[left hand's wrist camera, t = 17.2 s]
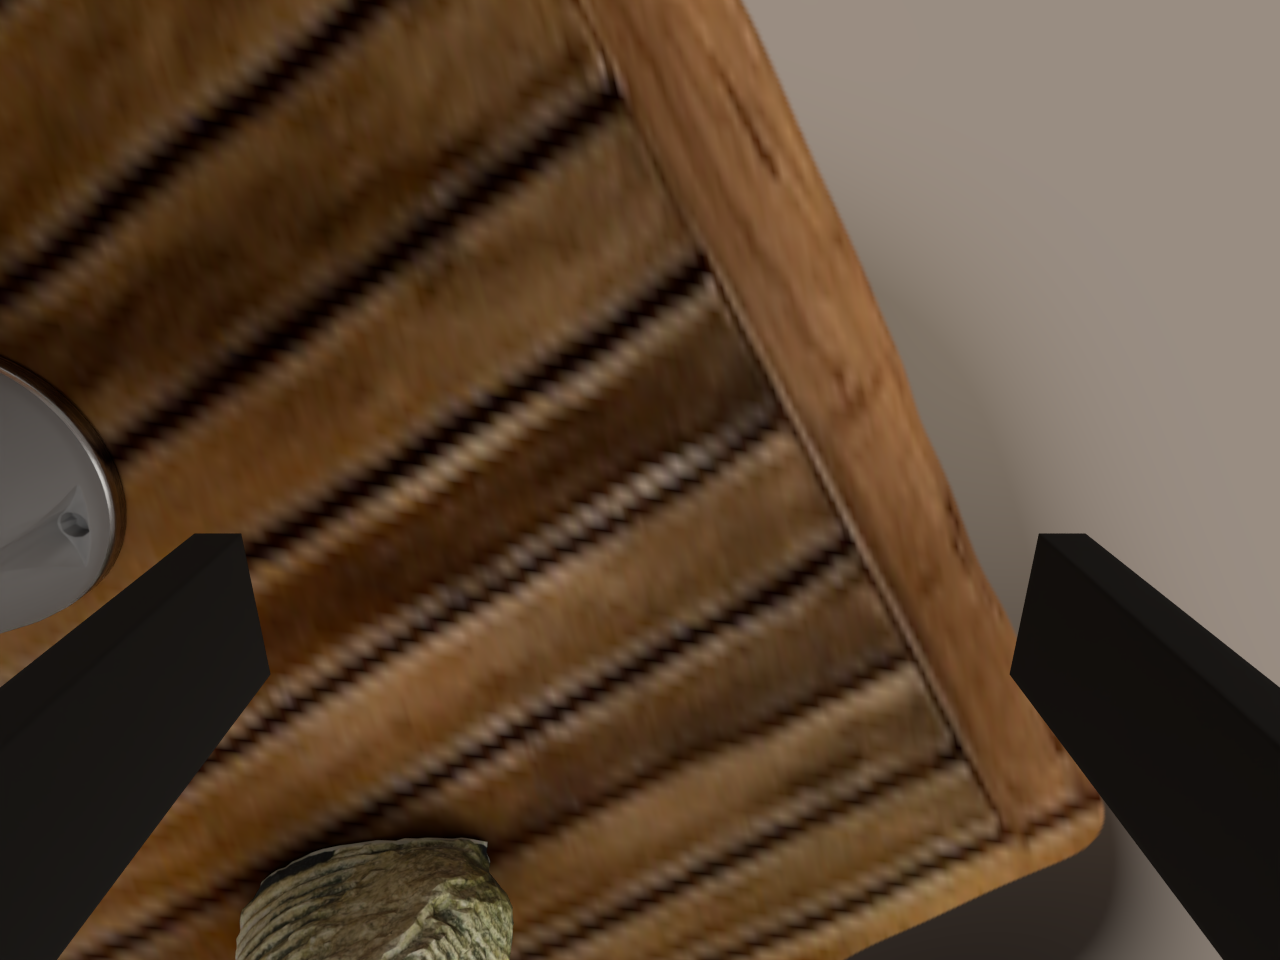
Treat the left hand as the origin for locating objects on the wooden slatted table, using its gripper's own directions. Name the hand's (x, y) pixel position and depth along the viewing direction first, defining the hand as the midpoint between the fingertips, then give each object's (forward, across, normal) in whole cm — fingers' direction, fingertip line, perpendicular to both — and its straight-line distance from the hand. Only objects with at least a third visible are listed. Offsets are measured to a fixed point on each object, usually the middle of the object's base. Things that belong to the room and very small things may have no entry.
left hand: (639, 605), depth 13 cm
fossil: (+26, +16, +36) cm, 48 cm away
